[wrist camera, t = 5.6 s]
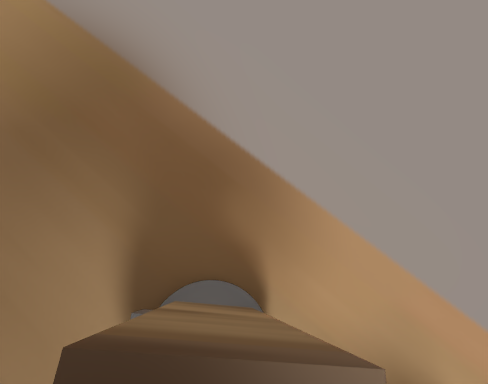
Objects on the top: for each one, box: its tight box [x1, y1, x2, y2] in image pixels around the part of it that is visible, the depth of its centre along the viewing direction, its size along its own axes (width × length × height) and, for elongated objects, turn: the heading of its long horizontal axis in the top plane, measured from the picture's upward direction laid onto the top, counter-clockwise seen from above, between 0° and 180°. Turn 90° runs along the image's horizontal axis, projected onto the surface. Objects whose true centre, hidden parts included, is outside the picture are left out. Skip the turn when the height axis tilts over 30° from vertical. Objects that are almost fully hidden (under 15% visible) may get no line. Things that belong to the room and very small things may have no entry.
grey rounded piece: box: [130, 280, 263, 320], centre depth 13 cm, size 6×7×3 cm
